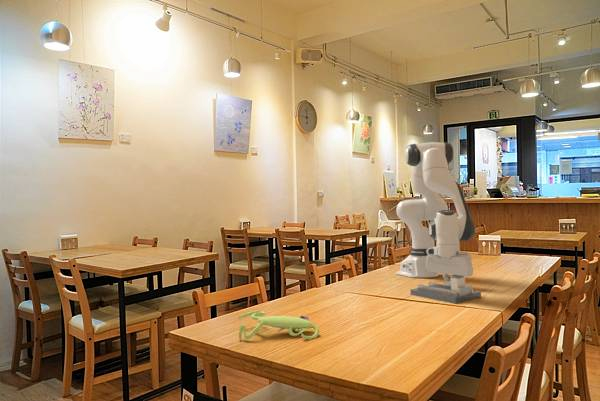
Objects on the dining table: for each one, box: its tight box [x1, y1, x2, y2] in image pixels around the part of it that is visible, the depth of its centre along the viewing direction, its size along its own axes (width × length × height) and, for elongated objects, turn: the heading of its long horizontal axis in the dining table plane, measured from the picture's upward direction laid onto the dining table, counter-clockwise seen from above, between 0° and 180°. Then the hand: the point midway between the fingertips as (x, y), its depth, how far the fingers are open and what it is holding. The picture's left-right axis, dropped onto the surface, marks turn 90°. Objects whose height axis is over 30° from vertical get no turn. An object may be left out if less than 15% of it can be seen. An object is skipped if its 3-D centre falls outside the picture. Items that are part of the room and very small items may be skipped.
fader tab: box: [450, 275, 466, 291], centre depth 176 cm, size 3×5×7 cm, turn 124°
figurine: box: [238, 310, 320, 340], centre depth 141 cm, size 18×27×6 cm
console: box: [410, 281, 482, 304], centre depth 181 cm, size 22×16×5 cm
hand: (449, 285), depth 179 cm, fingers closed
